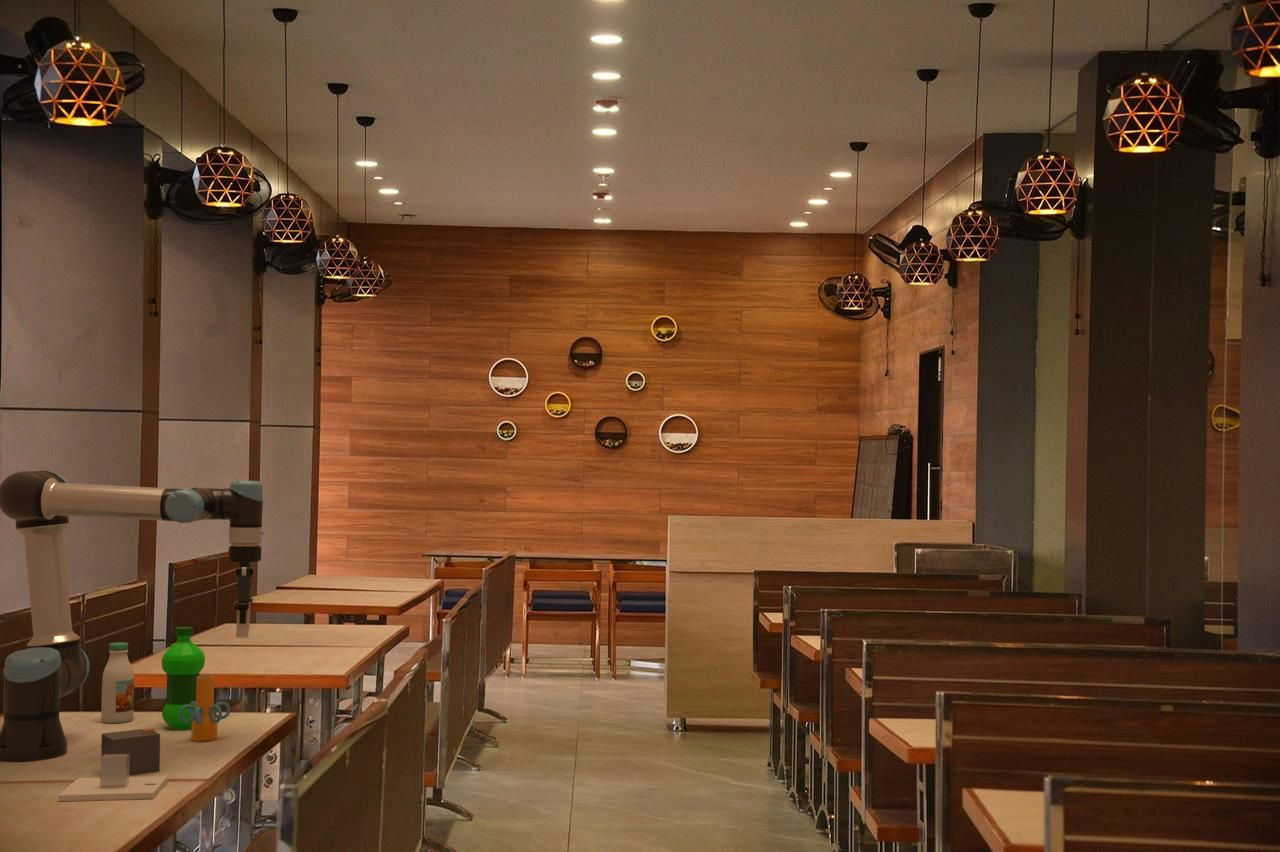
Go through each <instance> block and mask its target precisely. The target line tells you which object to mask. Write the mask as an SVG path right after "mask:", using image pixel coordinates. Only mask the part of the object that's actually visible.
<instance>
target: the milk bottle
mask: <svg viewBox="0 0 1280 852" xmlns="http://www.w3.org/2000/svg"><path fill="white" fill-rule="evenodd" d="M108 650H109V658H108V661H107V663H106V664H105V665H106V666H105V668H104V669H103V672H102V679H101V680H102V681H101V682H102V683H101V711H100V712H101V714H100V715H101V717H100V718H101V722H103V723H104V724H122V723H127V722H132V721H133V720H134V714H135V713H134V707H135V705H134V704H135V674H134V670H133V667H132V665H131V662H130V661H129V657H128V653H129V643H128V642H124V641H122V642H118V641H117V642H110V643H109V645H108Z"/></svg>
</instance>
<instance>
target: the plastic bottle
mask: <svg viewBox="0 0 1280 852" xmlns="http://www.w3.org/2000/svg"><path fill="white" fill-rule="evenodd" d="M193 631H194V629H193V626H177V627H175V628H174V635H175V636H176V637H177V639H176V642H175V643H173V644H172V645H171V646H170V647H169V648H168V649H167V650H166V651H165V652H164V654H163V656H162V658H161V668H162V671H164V673H165V674H166V703H165V705H164V706H163V709H162V712H161V713H162V716H161V717H162V719H163V721H164V723H165V724H166V725H168V726H169V727H171V729H172V730H188V729H192V721H191V722H183V721H181V719H180V718H179V711H180V709H181V708H182V707H183V706H185V705H190V703H191V702H193V701H196V686H197V677H198V676H200V673H201V672H202V670H203V669H204V667H205V661H206V655H205V653H204V650H202V649H201V648H200V647H199V646H198V645H197V644H196V643H194V642H193V641H191V636H192V635H194V632H193ZM193 706H194V707H195V708H196V705H195V704H194V705H193ZM192 713H193V714H194V711H193V710H192ZM182 716H183V718H185V719H190V718H192V717H191V716H190V715H189V711H188V708H186V709H184V710H183V712H182Z"/></svg>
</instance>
